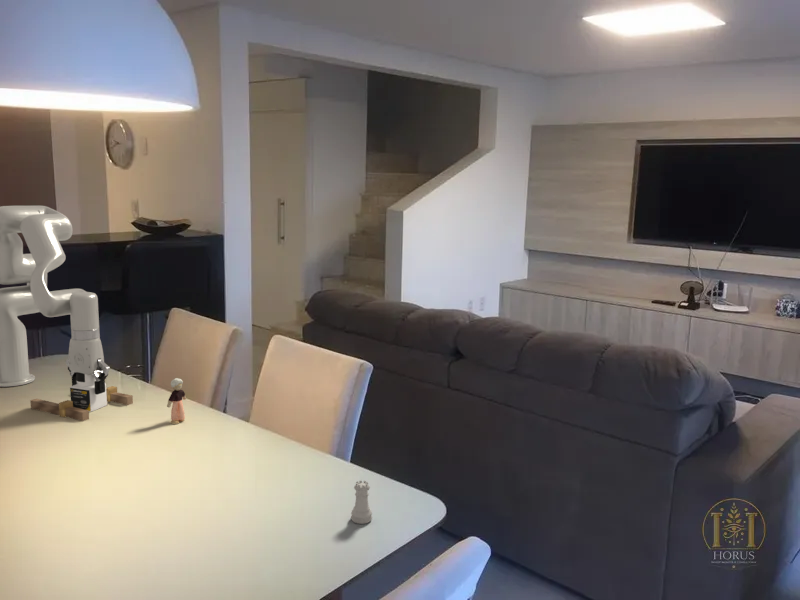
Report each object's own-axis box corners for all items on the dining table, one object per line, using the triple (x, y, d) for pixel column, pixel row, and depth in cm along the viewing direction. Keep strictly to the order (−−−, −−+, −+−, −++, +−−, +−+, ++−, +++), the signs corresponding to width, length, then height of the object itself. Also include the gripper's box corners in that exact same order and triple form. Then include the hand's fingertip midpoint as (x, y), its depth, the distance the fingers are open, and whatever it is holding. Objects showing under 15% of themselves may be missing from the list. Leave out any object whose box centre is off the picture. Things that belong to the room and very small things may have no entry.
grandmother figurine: (178, 426, 192) (176, 382, 190) (165, 425, 193) (163, 381, 191) (190, 417, 200) (189, 374, 198) (178, 416, 201) (177, 374, 198)
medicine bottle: (70, 409, 204) (68, 370, 202) (88, 402, 211) (86, 364, 209) (90, 412, 202) (88, 373, 200) (107, 405, 209) (105, 366, 207)
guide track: (29, 408, 204) (28, 395, 203) (83, 392, 221) (82, 380, 220) (81, 421, 194) (80, 407, 194) (134, 403, 211) (133, 390, 211)
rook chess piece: (360, 512, 145) (361, 476, 144) (376, 519, 142) (377, 482, 141) (346, 519, 142) (346, 483, 140) (362, 527, 139) (362, 489, 137)
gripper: (54, 333, 203) (57, 389, 206) (96, 340, 195) (99, 398, 198) (75, 328, 209) (79, 383, 212) (117, 335, 202) (119, 391, 205)
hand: (88, 390), depth 205 cm, fingers open, 9 cm apart
